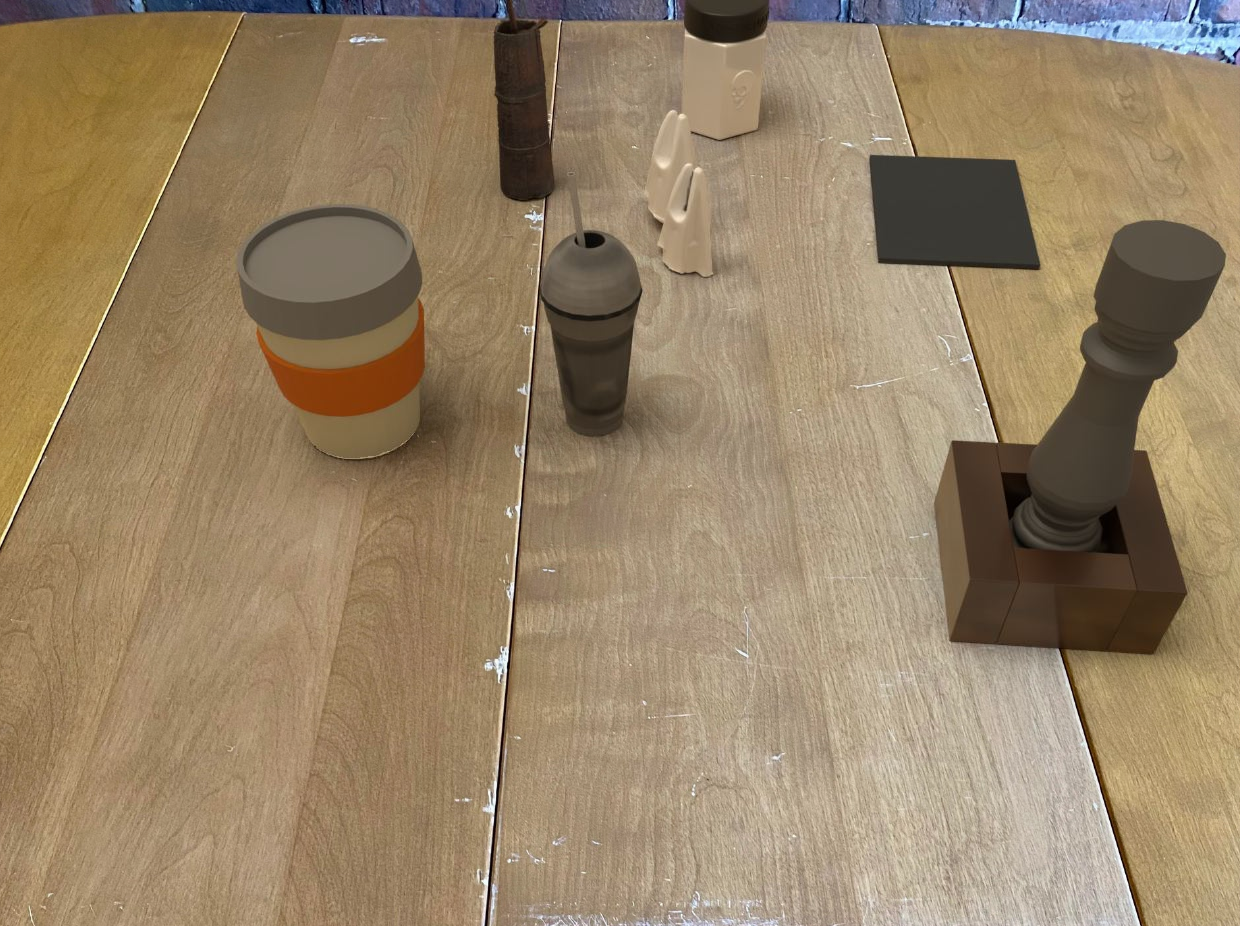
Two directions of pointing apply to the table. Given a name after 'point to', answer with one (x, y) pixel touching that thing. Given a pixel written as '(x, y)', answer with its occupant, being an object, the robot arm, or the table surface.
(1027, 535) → the candle holder
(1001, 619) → the holder
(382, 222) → the reusable coffee cup
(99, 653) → the table surface
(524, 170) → the butter churn
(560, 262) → the beverage cup
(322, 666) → the table surface
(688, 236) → the shaker set
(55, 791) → the table surface
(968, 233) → the mat
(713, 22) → the jar
